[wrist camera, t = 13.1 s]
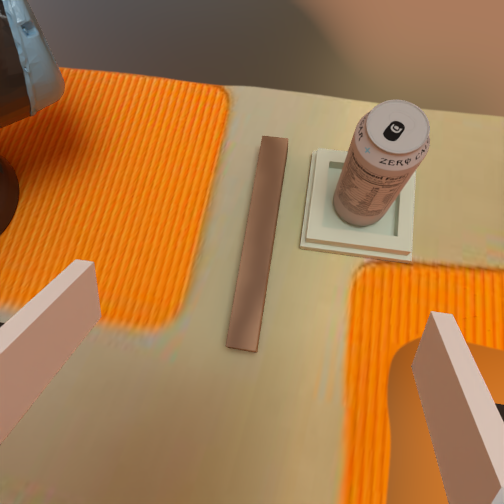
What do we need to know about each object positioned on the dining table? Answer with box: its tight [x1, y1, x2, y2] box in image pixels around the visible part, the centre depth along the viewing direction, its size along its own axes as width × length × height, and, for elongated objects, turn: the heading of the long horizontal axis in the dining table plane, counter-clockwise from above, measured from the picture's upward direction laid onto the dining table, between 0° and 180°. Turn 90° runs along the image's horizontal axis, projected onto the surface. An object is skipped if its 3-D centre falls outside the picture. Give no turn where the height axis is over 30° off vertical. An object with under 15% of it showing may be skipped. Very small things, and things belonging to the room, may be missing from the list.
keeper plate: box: [300, 148, 416, 263], centre depth 45 cm, size 12×12×2 cm
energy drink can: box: [333, 100, 430, 226], centre depth 38 cm, size 6×6×15 cm
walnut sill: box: [226, 136, 288, 352], centre depth 44 cm, size 3×24×3 cm, turn 171°
